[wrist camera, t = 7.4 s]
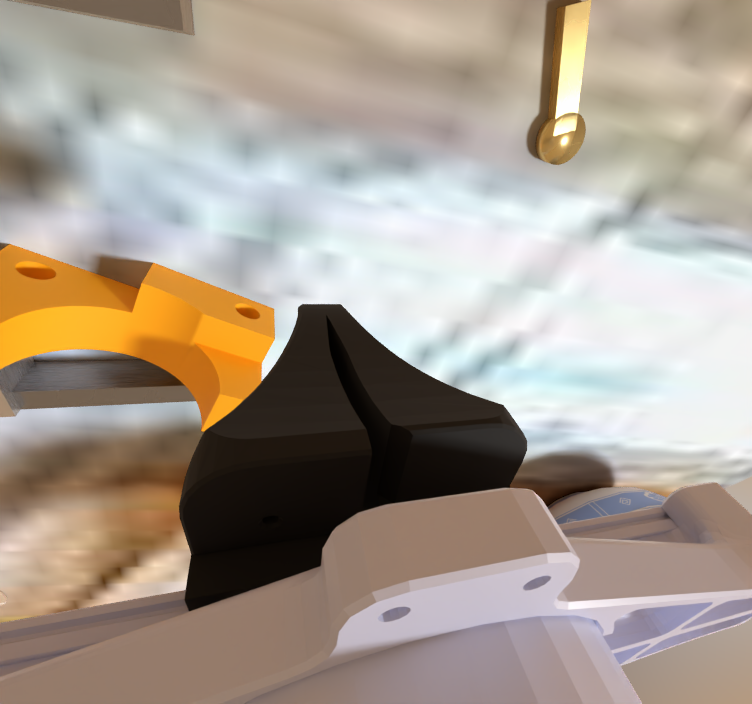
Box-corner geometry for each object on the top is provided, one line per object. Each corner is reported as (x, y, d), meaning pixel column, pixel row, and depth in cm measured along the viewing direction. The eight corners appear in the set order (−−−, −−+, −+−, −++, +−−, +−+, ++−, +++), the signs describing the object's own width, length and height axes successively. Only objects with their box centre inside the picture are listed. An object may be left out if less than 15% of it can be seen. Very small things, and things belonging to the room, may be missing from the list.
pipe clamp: (274, 308, 22) (275, 378, 17) (246, 361, 24) (240, 439, 19) (15, 208, 17) (-93, 270, 12) (5, 288, 18) (-93, 371, 13)
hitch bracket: (229, 372, 24) (225, 405, 22) (10, 379, 21) (-22, 418, 19) (190, -7, 14) (174, -21, 12) (-249, -101, 11) (-390, -146, 8)
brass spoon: (572, 155, 21) (581, 158, 20) (532, 166, 21) (540, 169, 20) (591, -2, 17) (604, -4, 16) (542, 11, 17) (553, 9, 16)
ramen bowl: (674, 417, 41) (750, 482, 34) (645, 511, 55) (694, 569, 49) (459, 503, 41) (494, 583, 35) (485, 574, 56) (514, 639, 49)
